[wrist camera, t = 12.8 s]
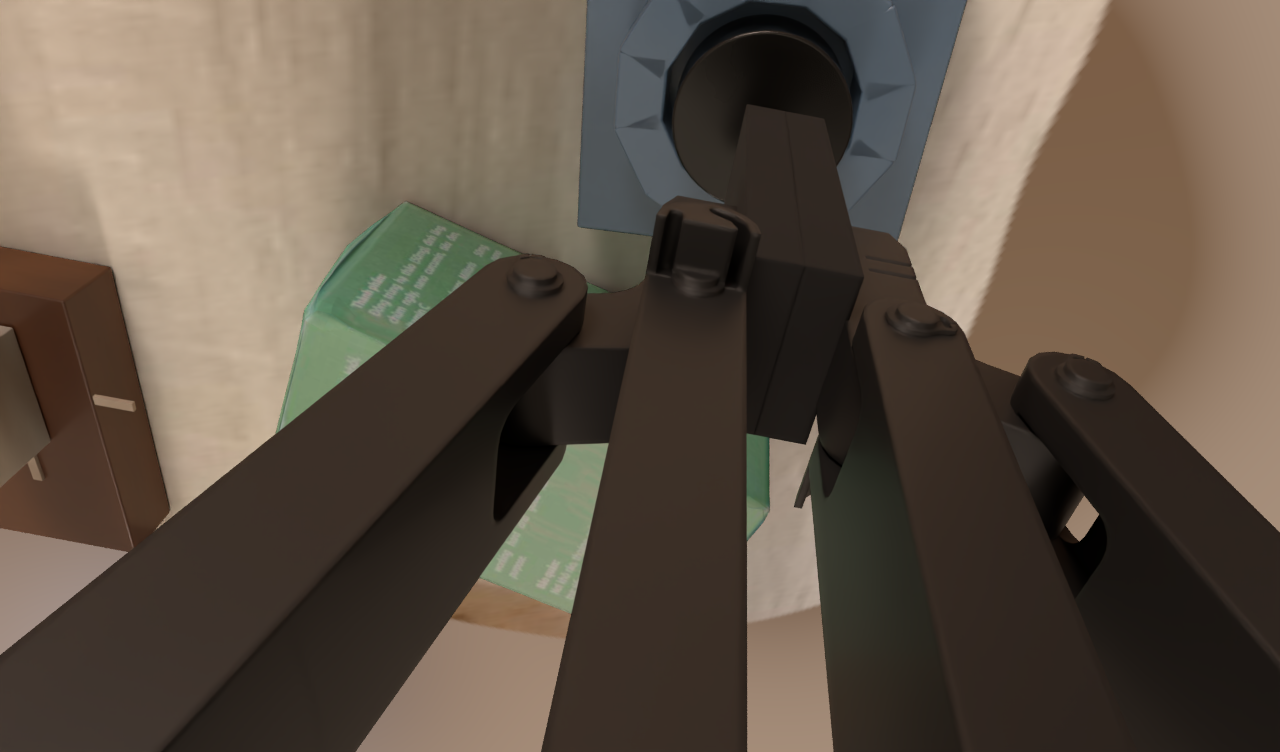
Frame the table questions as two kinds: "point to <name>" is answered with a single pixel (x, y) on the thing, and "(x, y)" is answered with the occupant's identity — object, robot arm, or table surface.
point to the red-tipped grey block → (17, 410)
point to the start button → (754, 91)
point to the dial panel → (79, 408)
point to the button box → (661, 46)
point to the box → (395, 299)
